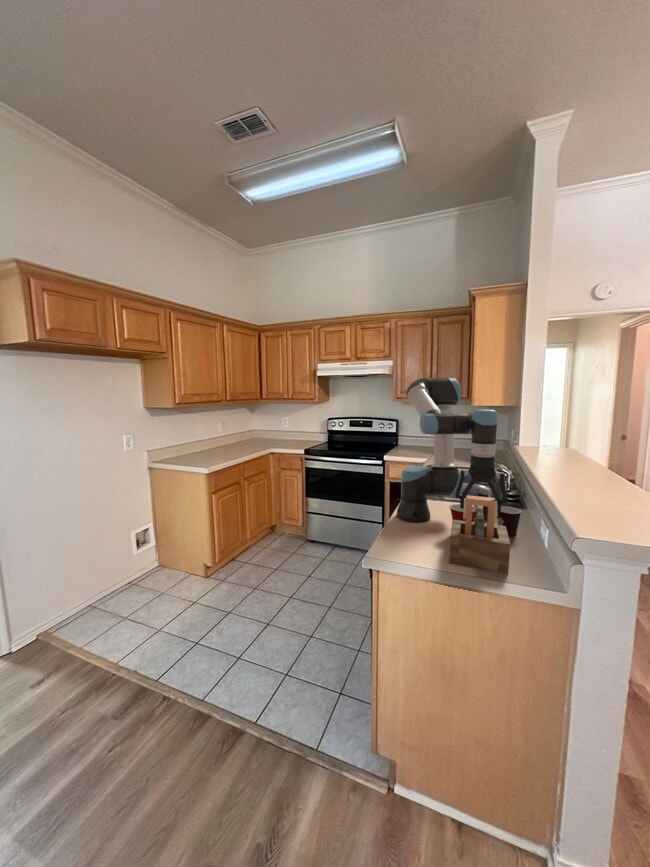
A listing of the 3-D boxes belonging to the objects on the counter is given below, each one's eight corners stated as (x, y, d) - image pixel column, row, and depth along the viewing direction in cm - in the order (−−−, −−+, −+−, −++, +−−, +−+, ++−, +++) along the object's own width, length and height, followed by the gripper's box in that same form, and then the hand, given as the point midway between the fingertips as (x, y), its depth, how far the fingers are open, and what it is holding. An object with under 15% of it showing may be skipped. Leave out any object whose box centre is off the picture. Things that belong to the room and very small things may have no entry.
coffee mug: (522, 538, 140) (524, 514, 139) (498, 536, 142) (500, 512, 141) (513, 527, 151) (514, 504, 150) (491, 525, 153) (492, 503, 152)
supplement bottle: (470, 515, 166) (471, 490, 164) (484, 515, 166) (486, 490, 165) (478, 520, 159) (479, 495, 158) (492, 520, 160) (494, 494, 158)
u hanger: (464, 530, 127) (466, 495, 125) (492, 534, 123) (494, 498, 122) (464, 534, 123) (466, 498, 121) (493, 538, 119) (495, 501, 118)
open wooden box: (451, 544, 135) (453, 499, 133) (504, 552, 128) (507, 504, 126) (449, 563, 120) (451, 512, 118) (508, 573, 113) (511, 520, 111)
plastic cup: (475, 531, 147) (476, 503, 146) (477, 542, 137) (479, 512, 135) (447, 528, 151) (449, 501, 149) (447, 538, 140) (449, 509, 139)
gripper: (448, 455, 120) (445, 518, 123) (520, 459, 112) (516, 527, 115) (449, 451, 127) (447, 511, 130) (517, 455, 119) (513, 519, 122)
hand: (479, 519), depth 122 cm, fingers closed on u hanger, 9 cm apart
